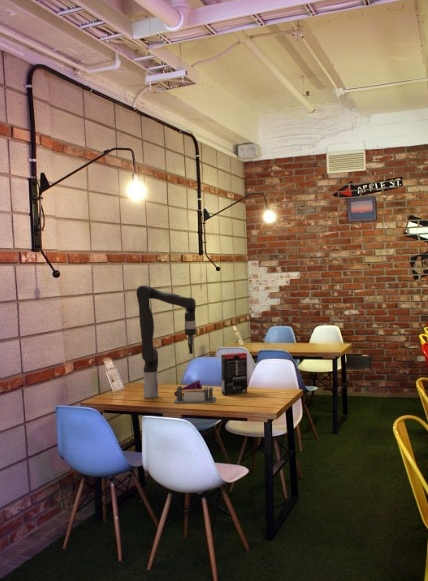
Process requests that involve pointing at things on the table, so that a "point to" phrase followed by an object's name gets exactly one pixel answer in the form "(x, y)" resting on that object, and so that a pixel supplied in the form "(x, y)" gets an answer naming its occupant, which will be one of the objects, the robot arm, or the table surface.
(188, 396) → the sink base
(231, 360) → the graphics card box
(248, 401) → the table surface
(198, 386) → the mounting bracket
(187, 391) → the strap
